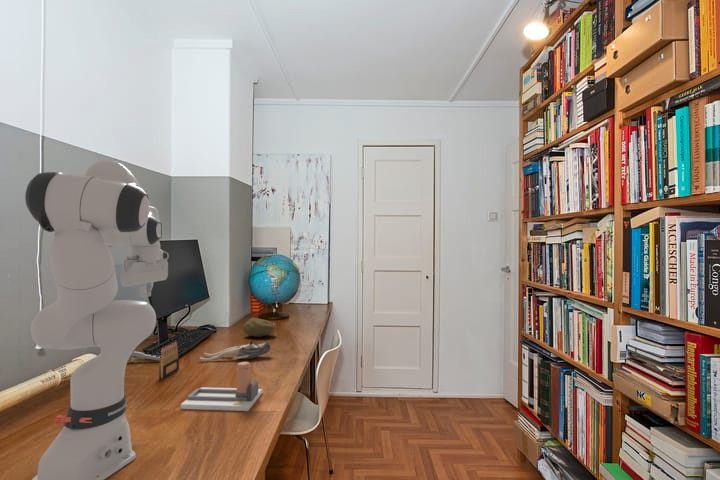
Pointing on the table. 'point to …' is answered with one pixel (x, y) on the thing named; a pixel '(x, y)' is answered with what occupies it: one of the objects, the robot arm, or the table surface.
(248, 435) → the table surface
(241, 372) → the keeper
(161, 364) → the ammunition clip
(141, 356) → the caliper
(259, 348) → the anime figure
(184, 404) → the rail board
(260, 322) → the decorative stone
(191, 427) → the table surface
